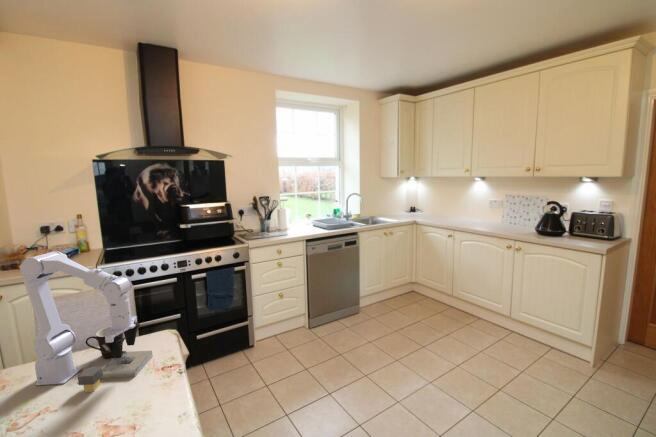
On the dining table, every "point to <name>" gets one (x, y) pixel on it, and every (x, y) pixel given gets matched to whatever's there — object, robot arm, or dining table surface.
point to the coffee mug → (100, 338)
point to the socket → (121, 369)
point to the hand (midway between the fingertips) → (124, 351)
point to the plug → (90, 378)
